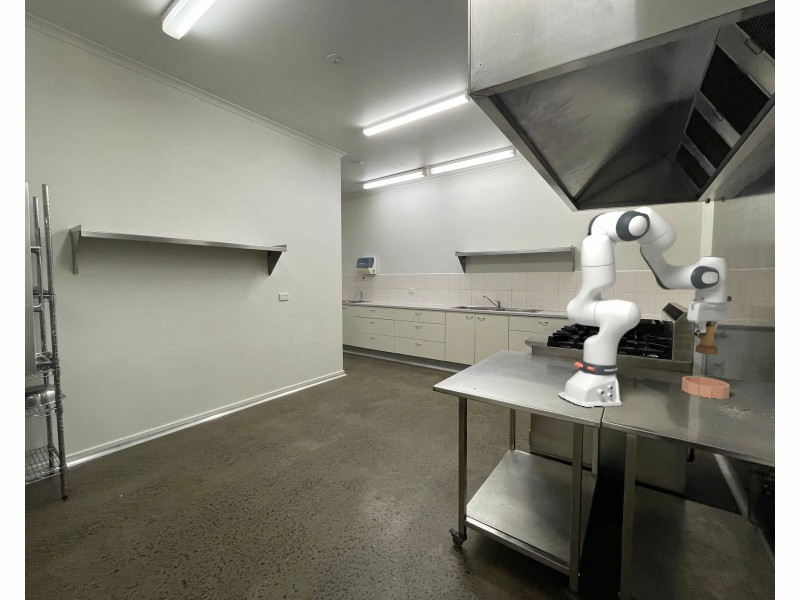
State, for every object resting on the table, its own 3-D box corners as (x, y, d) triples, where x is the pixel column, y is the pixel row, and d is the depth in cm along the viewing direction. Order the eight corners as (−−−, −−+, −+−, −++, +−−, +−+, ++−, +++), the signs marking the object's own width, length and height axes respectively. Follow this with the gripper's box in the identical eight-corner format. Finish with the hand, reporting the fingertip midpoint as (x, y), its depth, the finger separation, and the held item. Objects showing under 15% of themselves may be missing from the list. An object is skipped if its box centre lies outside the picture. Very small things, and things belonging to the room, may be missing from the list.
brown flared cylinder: (722, 354, 130) (725, 309, 128) (705, 354, 130) (708, 309, 129) (707, 350, 136) (709, 307, 135) (691, 350, 137) (693, 307, 135)
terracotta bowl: (714, 400, 126) (714, 389, 125) (673, 388, 139) (674, 378, 138) (737, 396, 130) (738, 384, 130) (695, 385, 143) (696, 374, 143)
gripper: (701, 299, 125) (699, 335, 126) (735, 297, 132) (733, 331, 133) (683, 298, 131) (681, 332, 132) (716, 296, 138) (714, 329, 139)
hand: (707, 332), depth 132 cm, fingers closed on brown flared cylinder, 4 cm apart
